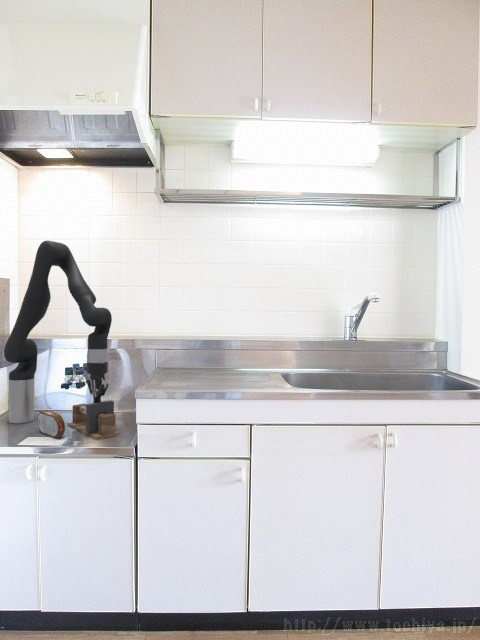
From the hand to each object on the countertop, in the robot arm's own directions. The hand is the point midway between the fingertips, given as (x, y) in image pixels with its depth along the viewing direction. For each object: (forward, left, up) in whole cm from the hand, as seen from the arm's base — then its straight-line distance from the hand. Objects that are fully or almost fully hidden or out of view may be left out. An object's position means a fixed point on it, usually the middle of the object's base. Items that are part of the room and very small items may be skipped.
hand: (97, 406), depth 158 cm
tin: (-8, -14, -10) cm, 19 cm away
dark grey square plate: (+3, 0, -8) cm, 9 cm away
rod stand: (-3, 0, -10) cm, 10 cm away
